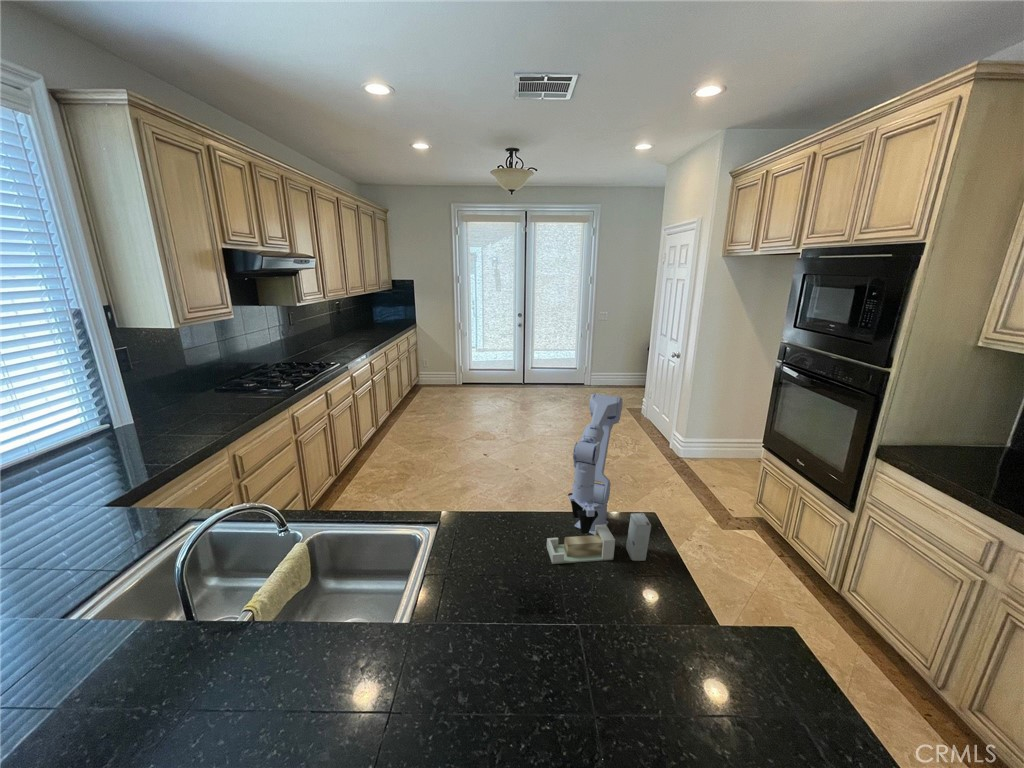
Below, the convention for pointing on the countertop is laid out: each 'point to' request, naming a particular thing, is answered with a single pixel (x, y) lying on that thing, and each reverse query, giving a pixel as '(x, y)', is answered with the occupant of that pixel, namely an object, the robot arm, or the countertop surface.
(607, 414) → the robot arm
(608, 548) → the endcap rail
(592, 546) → the tan rectangular block
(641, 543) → the skincare box
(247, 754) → the countertop surface
